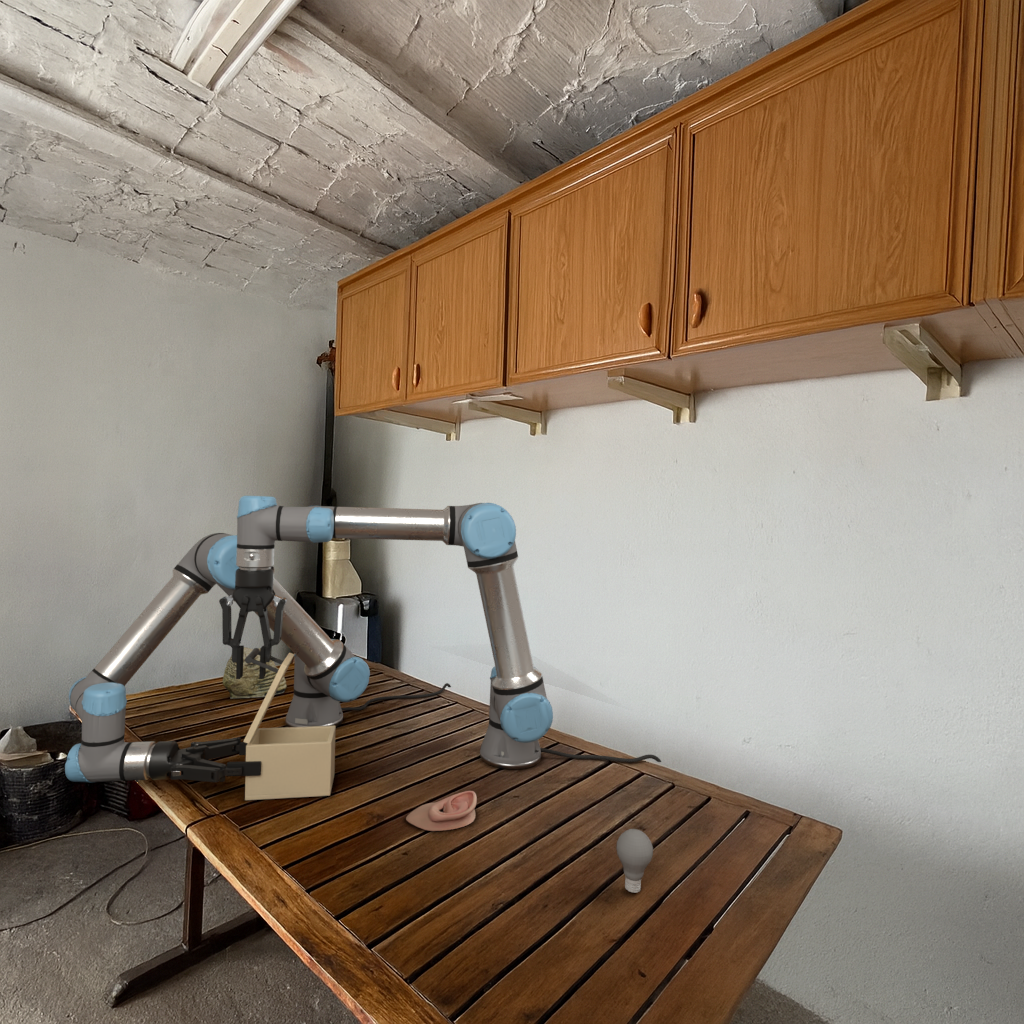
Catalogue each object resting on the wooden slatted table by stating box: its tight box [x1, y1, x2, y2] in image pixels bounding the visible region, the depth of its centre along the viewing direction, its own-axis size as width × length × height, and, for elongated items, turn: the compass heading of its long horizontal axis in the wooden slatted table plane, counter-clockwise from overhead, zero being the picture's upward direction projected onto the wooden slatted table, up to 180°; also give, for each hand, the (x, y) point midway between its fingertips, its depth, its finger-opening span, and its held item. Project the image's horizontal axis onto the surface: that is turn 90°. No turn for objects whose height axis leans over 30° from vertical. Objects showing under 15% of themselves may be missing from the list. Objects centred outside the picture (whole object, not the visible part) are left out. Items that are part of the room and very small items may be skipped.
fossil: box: [222, 646, 288, 699], centre depth 198 cm, size 9×18×15 cm, turn 132°
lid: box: [242, 647, 295, 744], centre depth 135 cm, size 18×10×8 cm
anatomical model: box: [405, 790, 478, 832], centre depth 127 cm, size 13×4×12 cm
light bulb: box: [615, 828, 654, 894], centre depth 106 cm, size 6×6×10 cm
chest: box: [244, 726, 337, 801], centre depth 137 cm, size 17×10×11 cm, turn 101°
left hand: (265, 757), depth 136 cm, fingers closed on chest, 10 cm apart
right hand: (250, 677), depth 135 cm, fingers open, 4 cm apart
